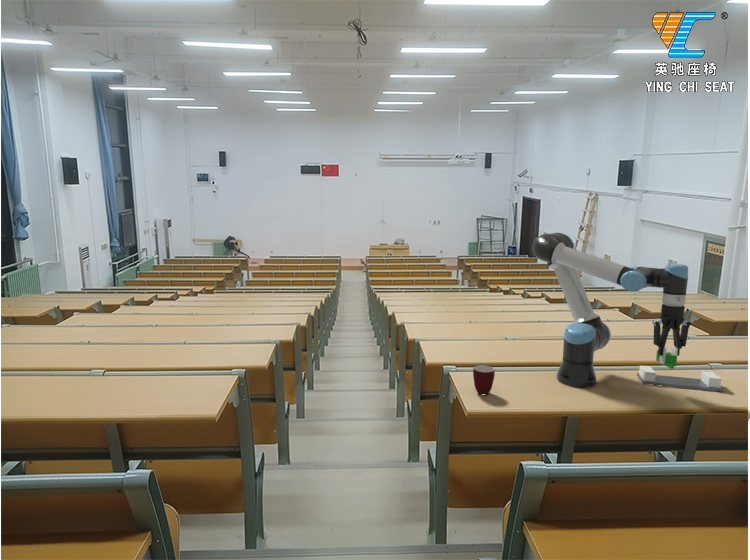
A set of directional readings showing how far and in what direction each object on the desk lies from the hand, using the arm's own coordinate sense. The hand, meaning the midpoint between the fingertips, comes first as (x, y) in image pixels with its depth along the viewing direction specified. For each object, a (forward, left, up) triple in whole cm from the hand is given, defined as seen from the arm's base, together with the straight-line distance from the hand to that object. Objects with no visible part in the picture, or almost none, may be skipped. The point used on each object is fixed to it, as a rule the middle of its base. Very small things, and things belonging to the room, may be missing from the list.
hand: (667, 363), depth 182 cm
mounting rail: (+8, +12, -12) cm, 19 cm away
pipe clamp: (0, 0, 0) cm, 1 cm away
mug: (-69, -21, -12) cm, 73 cm away
